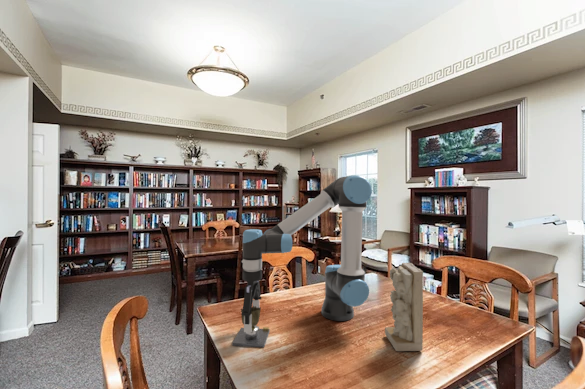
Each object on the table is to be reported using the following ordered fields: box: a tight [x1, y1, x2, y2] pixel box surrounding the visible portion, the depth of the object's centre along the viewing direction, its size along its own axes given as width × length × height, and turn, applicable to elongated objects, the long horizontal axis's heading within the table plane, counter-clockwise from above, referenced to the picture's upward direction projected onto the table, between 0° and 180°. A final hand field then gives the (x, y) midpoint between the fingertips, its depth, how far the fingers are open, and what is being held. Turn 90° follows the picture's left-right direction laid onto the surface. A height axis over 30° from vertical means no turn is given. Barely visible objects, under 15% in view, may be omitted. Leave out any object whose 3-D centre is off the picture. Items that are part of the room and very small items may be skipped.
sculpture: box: [384, 262, 424, 352], centre depth 105 cm, size 13×10×30 cm
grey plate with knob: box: [231, 325, 271, 348], centre depth 109 cm, size 12×12×4 cm
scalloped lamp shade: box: [240, 305, 262, 331], centre depth 105 cm, size 8×7×8 cm
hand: (252, 323), depth 109 cm, fingers open, 13 cm apart
